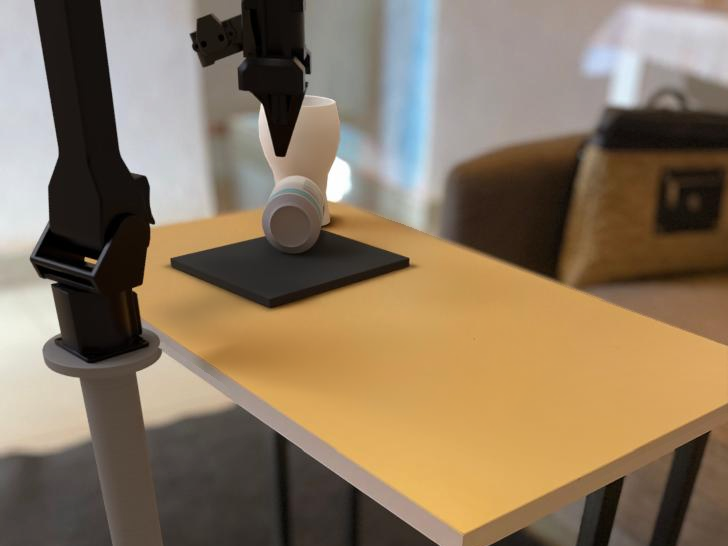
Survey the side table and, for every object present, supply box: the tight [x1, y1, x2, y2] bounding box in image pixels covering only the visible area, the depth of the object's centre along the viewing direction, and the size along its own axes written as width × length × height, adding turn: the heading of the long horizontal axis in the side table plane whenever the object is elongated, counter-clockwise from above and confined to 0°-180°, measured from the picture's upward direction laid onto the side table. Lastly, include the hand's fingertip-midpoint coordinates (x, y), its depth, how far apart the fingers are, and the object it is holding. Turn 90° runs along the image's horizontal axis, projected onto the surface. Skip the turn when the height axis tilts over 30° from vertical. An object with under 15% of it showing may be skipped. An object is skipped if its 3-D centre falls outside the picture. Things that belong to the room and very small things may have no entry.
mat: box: [169, 228, 411, 309], centre depth 100 cm, size 22×18×1 cm
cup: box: [257, 94, 341, 227], centre depth 112 cm, size 11×11×15 cm
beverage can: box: [261, 176, 325, 254], centre depth 103 cm, size 7×7×12 cm
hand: (280, 156), depth 91 cm, fingers closed
